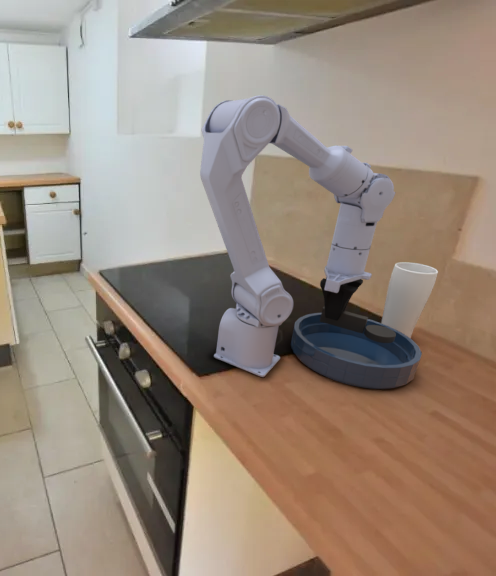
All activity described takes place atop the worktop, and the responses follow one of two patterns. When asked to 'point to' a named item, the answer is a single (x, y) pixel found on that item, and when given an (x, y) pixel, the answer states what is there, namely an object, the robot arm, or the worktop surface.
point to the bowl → (354, 354)
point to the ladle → (361, 326)
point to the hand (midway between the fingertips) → (333, 316)
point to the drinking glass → (407, 295)
